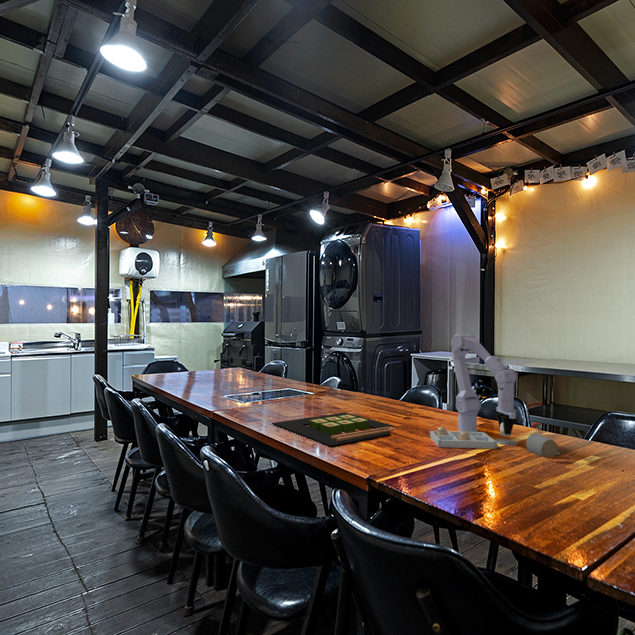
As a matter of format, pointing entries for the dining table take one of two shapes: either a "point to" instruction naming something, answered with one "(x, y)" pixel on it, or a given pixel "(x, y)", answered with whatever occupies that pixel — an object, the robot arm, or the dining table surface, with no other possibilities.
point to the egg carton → (453, 440)
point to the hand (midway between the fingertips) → (505, 432)
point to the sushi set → (337, 428)
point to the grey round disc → (506, 442)
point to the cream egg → (502, 430)
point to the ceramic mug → (542, 445)
